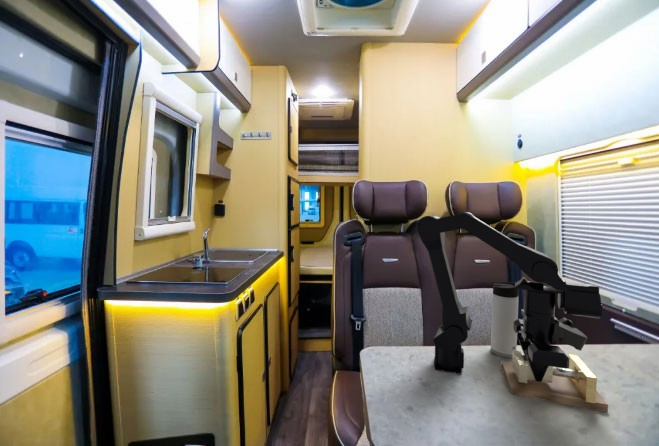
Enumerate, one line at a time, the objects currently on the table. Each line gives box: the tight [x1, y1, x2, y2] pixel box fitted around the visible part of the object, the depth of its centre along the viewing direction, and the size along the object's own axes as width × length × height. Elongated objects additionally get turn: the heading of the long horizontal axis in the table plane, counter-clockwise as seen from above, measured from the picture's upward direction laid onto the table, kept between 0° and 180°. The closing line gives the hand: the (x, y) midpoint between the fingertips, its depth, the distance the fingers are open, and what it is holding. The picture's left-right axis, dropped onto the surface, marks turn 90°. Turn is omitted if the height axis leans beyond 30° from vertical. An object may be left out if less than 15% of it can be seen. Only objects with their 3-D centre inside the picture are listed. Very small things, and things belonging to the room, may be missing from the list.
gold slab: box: [567, 354, 598, 403], centre depth 66 cm, size 2×10×5 cm, turn 160°
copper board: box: [500, 360, 609, 413], centre depth 70 cm, size 17×12×2 cm
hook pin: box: [511, 349, 579, 383], centre depth 68 cm, size 14×7×4 cm, turn 70°
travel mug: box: [490, 281, 519, 359], centre depth 85 cm, size 6×7×20 cm
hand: (536, 377), depth 69 cm, fingers closed on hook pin, 3 cm apart
